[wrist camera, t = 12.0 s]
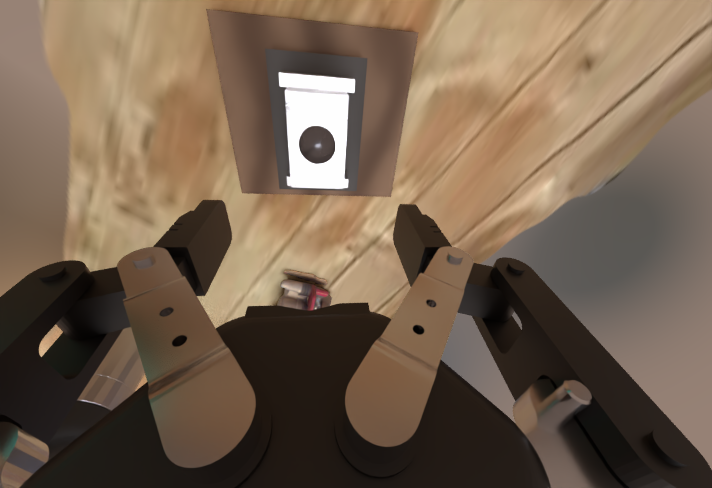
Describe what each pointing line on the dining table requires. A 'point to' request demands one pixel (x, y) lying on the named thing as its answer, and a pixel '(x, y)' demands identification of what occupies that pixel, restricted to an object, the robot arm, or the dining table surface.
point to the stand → (312, 56)
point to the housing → (316, 128)
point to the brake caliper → (304, 292)
